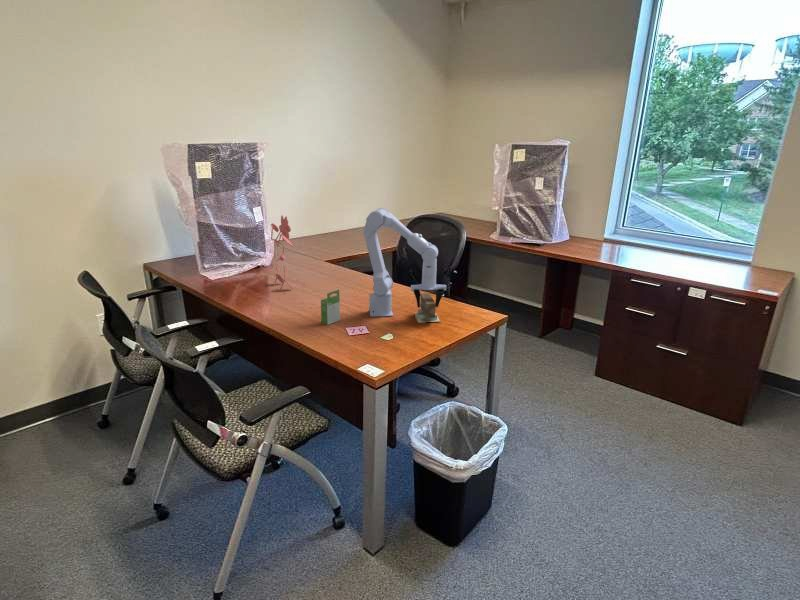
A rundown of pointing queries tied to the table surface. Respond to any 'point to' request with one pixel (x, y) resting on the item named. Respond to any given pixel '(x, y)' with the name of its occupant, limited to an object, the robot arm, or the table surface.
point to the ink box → (330, 308)
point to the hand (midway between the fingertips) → (427, 306)
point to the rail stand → (423, 319)
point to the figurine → (285, 237)
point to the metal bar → (428, 305)
